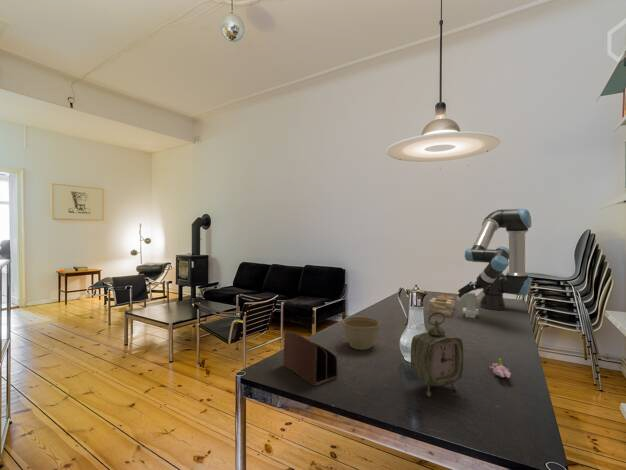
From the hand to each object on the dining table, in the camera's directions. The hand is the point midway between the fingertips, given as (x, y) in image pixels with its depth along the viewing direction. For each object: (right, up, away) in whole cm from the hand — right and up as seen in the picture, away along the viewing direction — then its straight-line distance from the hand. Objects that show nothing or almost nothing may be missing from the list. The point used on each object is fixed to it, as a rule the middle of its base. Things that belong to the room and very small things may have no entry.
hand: (467, 299), depth 191 cm
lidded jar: (-7, -10, +16) cm, 20 cm away
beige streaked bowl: (-15, -10, +4) cm, 18 cm away
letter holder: (-94, -11, -77) cm, 122 cm away
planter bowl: (-72, -11, -51) cm, 89 cm away
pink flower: (-27, -12, -79) cm, 84 cm away
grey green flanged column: (0, -10, -2) cm, 10 cm away
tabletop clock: (-54, -11, -89) cm, 104 cm away
